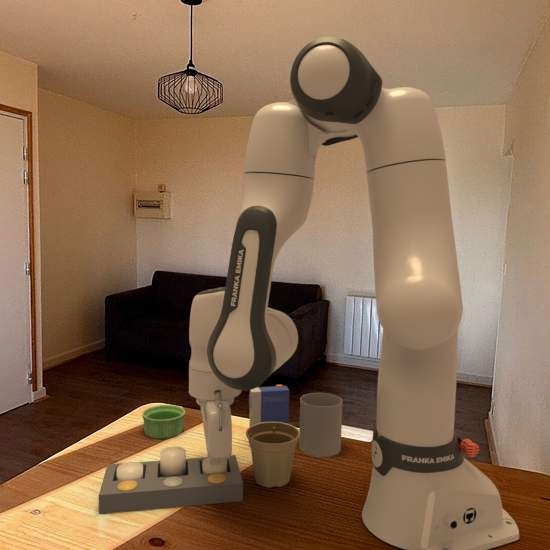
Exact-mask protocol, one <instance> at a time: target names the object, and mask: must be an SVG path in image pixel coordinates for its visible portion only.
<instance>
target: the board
mask: <svg viewBox="0 0 550 550" xmlns="http://www.w3.org/2000/svg"><path fill="white" fill-rule="evenodd" d="M207 457H208V456H206V457H191V458H186V472H185V473H184V474H183V475H181V476H172V477H164V476H162V475H161V474H160V460H150V461H138V462H139V463H141V464H142V465H143V479H134V480H121V481H117V467H118V466H119V465H121V464H123V463H124V462H123V463H121V462H120V463H110V464H109V463H108V464H107V465H106V468H105V472H104V476H103V479H102V483H101V485H100V489H99V493H98V515H104V514H114V513H125V512H126V513H127V512H136V511H137V512H138V511H148V510H156V509H157V510H159V509H168V508H169V509H170V508H182V507H189V506H192V507H194V506H203V505H212V504H214V505H215V504H223V503H226V504H227V503H235V502H243V501H244V481H243V479H242V478H243V477H242V475H241V470H240V467H239V463H238V460H237V456H236V454H231V457H230V458H229V459H227V472H222V473H210V474H202V461H203V460H204V459H205V458H207Z"/></svg>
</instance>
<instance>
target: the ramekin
mask: <svg viewBox="0 0 550 550" xmlns="http://www.w3.org/2000/svg"><path fill="white" fill-rule="evenodd" d="M141 415H142V419H143V429H144V430H143V431H144V434H145V435H146V436H147V437H148V438H152V439H158V440H160V439H161V440H162V439H164V440H165V439H171V438H174V437H176V436H179V435H180V434H182V432H183V429H184V419H185V415H186V409H185V408H183V407H181V406H178V405H175V404H159V405H154V406H150V407H148V408H146V409H145V410H143V411H142V414H141Z"/></svg>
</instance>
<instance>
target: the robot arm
mask: <svg viewBox="0 0 550 550" xmlns="http://www.w3.org/2000/svg"><path fill="white" fill-rule="evenodd" d="M289 77H290V79H289V83H290V84H289V85H290V89H291V90H290V91H291V93H292V97H293V99H291V100H288V101H287V102H286V101H285V102H284V101H277V102H272V103H269V104H266V105H264V106H262V107H261V108H260V109H259V110H258V111H257V112H256V113H255V115H254V117H253V120H252V124H251V127H250V130H249V131H250V132H249V135H248V136H249V137H248V140H247V145H246V150H245V156H244V162H243V163H244V166H243V173H242V174H243V175H242V176H243V177H242V187H241V199H240V207H239V211H238V212H239V213H238V216H237V222H236V226H235V230H234V233H233V239H232V243H231V248H230V249H231V250H230V254H229V255H230V256H229V261H228V262H229V263H228V268H227V273H226V274H227V275H226V281H225V286H221V287H216V288H212V289H211V288H210V289H205V290H202V291H200V292H198V293H197V294H196V295H194V297H193V299H192V303H191V308H190V313H189V314H190V315H189V328H188V333H189V334H188V337H189V338H188V340H189V341H188V342H189V345H190V348H191V355H190V359H189V361H188V362H189V363H188V393H189V395H190V396H191V397H192V398H195V399H196V403H197V405H199V406H200V413H201V420H202V424H203V425H202V426H203V432H204V438H205V439H204V440H205V446H206V453H207V457H208V458H209V459H210V464H211V465H219V464H220V463H221V460H223V459H229V458H230V457H231V455H233V454H232V453H233V424H232V422H233V421H232V412H231V411H232V410H231V407H230V406H231V405H232V404H234V401H235V398H236V397H238V396H240V394H241V393H242V391H250V390H251V389H254V388H257V387H261V385H262V384H264V383H265V382H266V381H267V380H268V378H269V377H270V376H271V375H272V374H273V373H275V371H276V370H278V369H279V368H280V367H281V366H283V365H284V364H285V363H286V362H287V361H289V360H290V359H291V358H292V356H293V355H294V354H295V353H296V351H297V348H298V345H299V331H298V327H297V325H296V323H295V322H294V320H293V318H291V317H290V316H289V315H288V314H287V313H285V312H283V311H281V310H279V309H278V310H277V309H274V308H271V307H268V306H269V299H270V292H271V286H272V279H273V271H274V267H275V263H276V259H277V257H278V255H279V252H280V251H281V249H282V248H283V246H284V245H285V244H286V243H287V241H288V240H289V239H290V238H291V237H292V236H293V235H294V234H295V233H296V232H297V231H298V230H300V229H301V228H302V227H303V225H304V224H305V223H306V221H307V218H308V216H309V211H310V208H311V205H312V200H313V194H314V185H315V183H314V182H315V173H316V172H315V171H316V164H317V163H316V162H317V155H318V151H319V149H320V147H321V146H325V147H327V146H332V145H335V144H338V143H342V142H346V141H351V140H355V139H357V138H359V140H360V142H361V145H362V149H363V154H364V155H363V156H364V162H365V172H366V182H367V190H368V191H367V192H368V199H369V209H370V210H369V211H370V217H371V218H370V219H371V226H372V252H373V253H372V255H373V256H372V257H373V273H374V274H373V275H374V289H375V302H376V303H375V304H376V313H377V318H378V322H379V324H380V326H381V328H382V335H381V346H380V357H379V358H380V359H379V368H378V375H377V395H376V396H377V397H376V419H375V420H376V421H375V422H376V423H375V424H374V425H373V428H372V430H373V431H372V440H371V441H372V443H371V463H372V471H371V478H370V484H369V487H368V493H367V495H366V496H367V497H366V499H365V502H364V506H363V508H362V511H361V518H362V519H361V520H362V522H363V524H364V526H365V527H366V529H367V530H368V531H369V532H370V533H371V534H372V535H374V536H375V537H377V538H378V539H380V540H381V541H383V542H384V543H386V544H388V545H391V546H394V547H397V548H400V549H403V550H491V549H493V548H496V547H500V546H504V545H507V544H509V543H513V542H516V541H518V540H519V539H520V530H519V527H518V525H517V523H516V521H515V520H514V518H513V517H512V516H511V515H510V514H509V513H508V512H507V511H506V509H504V508H503V503H502V499H501V494H500V493H499V490H498V488H497V486H496V485H495V483H494V482H493V481H492V480H491V479H490V478H489V477H488V476H487V475H486V474H485V473H484V472H482V471H481V470H480V469H478V468H477V467H476V465H474V464H473V463H471V462H470V461H469V460H468V459H466V458H465V457H464V454H463V453H465V454H466V455H467V456H468V457H470V458H475V457H476V456H478V454H479V451H480V449H479V448H480V447H479V445H478V444H477V443H475V442H473V441H472V440H471V439H470V438H464V439H463V436H462V435H461V434H459V433H457V432H456V431H454V430H455V415H456V395H457V363H458V362H457V360H458V359H457V353H458V328H459V326H460V324H461V321H462V317H463V311H464V308H463V307H464V306H463V298H462V288H461V280H460V273H459V272H460V271H459V266H458V265H459V263H458V254H457V246H456V241H455V240H456V239H455V231H454V224H453V217H452V216H453V214H452V208H451V199H450V197H451V196H450V189H449V179H448V170H447V161H446V153H445V146H444V140H443V135H442V131H441V127H440V122H439V119H438V115H437V112H436V109H435V106H434V103H433V101H432V98H431V97H430V96H429V94H428V93H426V92H425V91H423V90H422V89H419V88H416V87H409V86H403V87H401V86H400V87H395V88H385V87H383V79H382V77H381V76H380V74H379V72H377V69H375V67H374V66H373V65H372V64H371V63H370V62H369V60H368V58H367V57H366V56H365V54H364V53H363V52H362V51H361V50H360V49H359V48H358V47H357V46H355V45H354V44H352V43H351V42H350V41H348V40H345V39H344V38H341V37H337V36H322V37H319V38H315V39H314V40H312V41H310V42H309V43H307V44H306V45H305V46H304V47H302V49H301V50H299V52H298V54H297V55H296V57H295V59H294V61H293V63H292V66H291V70H290V76H289Z"/></svg>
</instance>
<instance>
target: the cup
mask: <svg viewBox="0 0 550 550" xmlns="http://www.w3.org/2000/svg"><path fill="white" fill-rule="evenodd" d="M299 398H300V402H299V403H300V404H299V405H300V406H299V431H300V437H299V439H298V443H299V446H298V447H299V450H300V451H301V452H302V453H304V454H305V455H308V456H310V457H317V458H328V457H333V456H336V455H338V454H339V453H340V452H341V451H342V427H343V426H342V425H343V424H342V423H343V417H342V416H343V399H342V398H341V397H340V396H338V395H335V394H332V393H327V392H326V393H325V392H310V393H305V394H303V395H302V396H301V397H299Z"/></svg>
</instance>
